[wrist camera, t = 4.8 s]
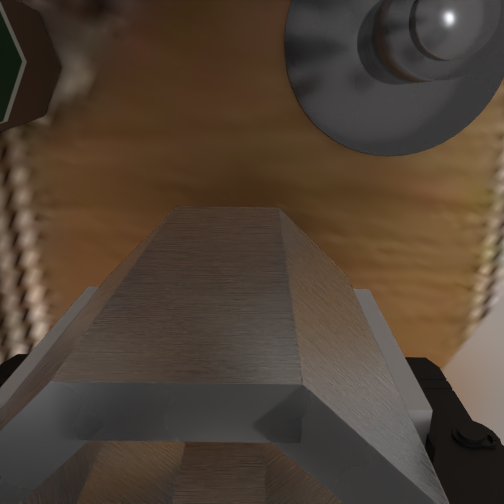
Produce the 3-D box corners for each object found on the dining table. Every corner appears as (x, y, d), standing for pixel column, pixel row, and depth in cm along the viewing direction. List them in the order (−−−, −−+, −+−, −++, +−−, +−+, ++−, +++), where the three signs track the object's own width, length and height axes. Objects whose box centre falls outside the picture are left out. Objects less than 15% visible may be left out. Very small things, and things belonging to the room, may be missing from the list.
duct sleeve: (103, 205, 16) (-126, 379, 6) (351, 207, 16) (485, 386, 6) (125, 410, 19) (-12, 738, 9) (336, 413, 19) (413, 750, 9)
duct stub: (286, -89, 23) (297, -189, 15) (530, -92, 23) (675, -195, 15) (281, 154, 27) (288, 178, 19) (491, 155, 27) (589, 180, 19)
